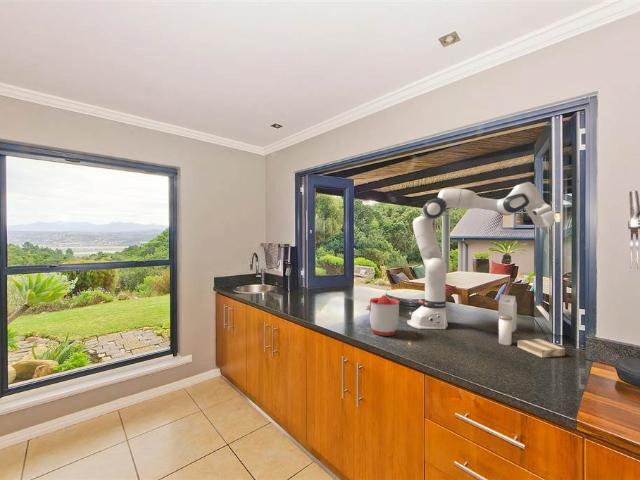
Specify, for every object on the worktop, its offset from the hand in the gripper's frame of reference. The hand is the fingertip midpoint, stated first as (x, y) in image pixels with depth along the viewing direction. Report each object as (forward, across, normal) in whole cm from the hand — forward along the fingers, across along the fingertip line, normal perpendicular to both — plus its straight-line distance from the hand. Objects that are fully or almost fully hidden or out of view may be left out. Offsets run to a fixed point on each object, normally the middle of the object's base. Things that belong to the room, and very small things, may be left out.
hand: (551, 233), depth 149 cm
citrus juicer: (+10, +27, -97) cm, 101 cm away
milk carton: (+39, -3, -40) cm, 56 cm away
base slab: (+42, +26, -34) cm, 60 cm away
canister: (+36, +21, -46) cm, 62 cm away
